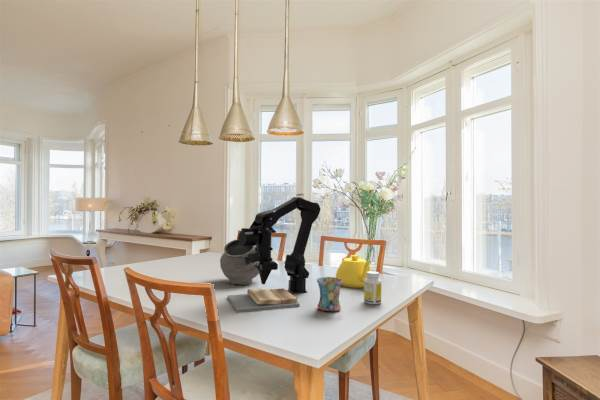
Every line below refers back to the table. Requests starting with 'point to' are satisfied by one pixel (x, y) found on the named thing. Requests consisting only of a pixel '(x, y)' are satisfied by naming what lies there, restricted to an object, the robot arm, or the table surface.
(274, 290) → the plank
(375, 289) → the pill bottle
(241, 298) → the underlay
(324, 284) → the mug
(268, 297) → the click plank
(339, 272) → the teapot
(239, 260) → the pot
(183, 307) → the table surface
